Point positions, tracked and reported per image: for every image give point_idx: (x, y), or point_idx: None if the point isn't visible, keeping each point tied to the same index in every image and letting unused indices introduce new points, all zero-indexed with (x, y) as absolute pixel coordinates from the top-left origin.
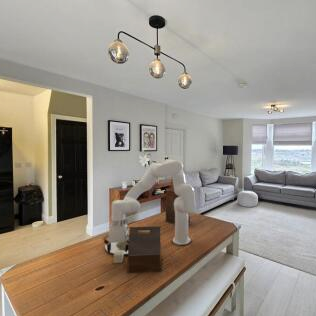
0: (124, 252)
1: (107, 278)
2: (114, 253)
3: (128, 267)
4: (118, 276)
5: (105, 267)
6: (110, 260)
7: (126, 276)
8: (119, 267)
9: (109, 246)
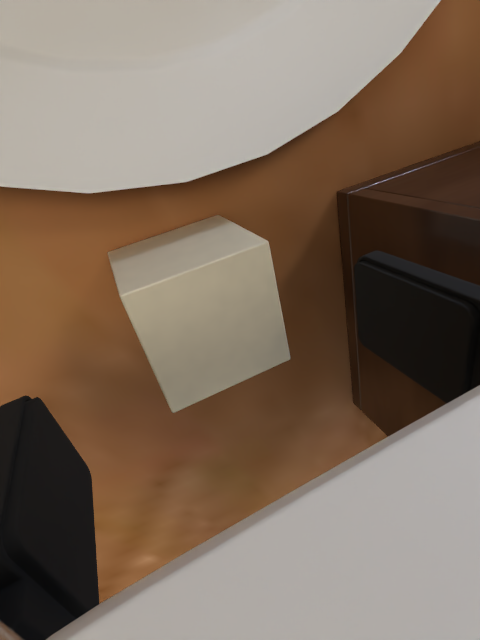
0: (147, 23)
1: (234, 512)
2: (11, 184)
3: (384, 428)
4: (301, 463)
5: (111, 439)
6: (55, 311)
7: (353, 439)
8: (258, 382)
9: (96, 603)
